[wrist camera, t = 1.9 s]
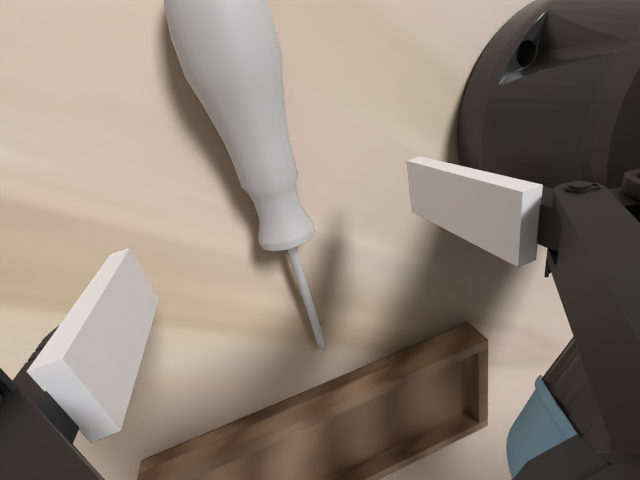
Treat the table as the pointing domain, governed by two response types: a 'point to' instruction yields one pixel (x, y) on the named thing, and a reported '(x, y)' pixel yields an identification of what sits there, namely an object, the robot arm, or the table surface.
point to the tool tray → (349, 421)
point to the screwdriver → (247, 113)
